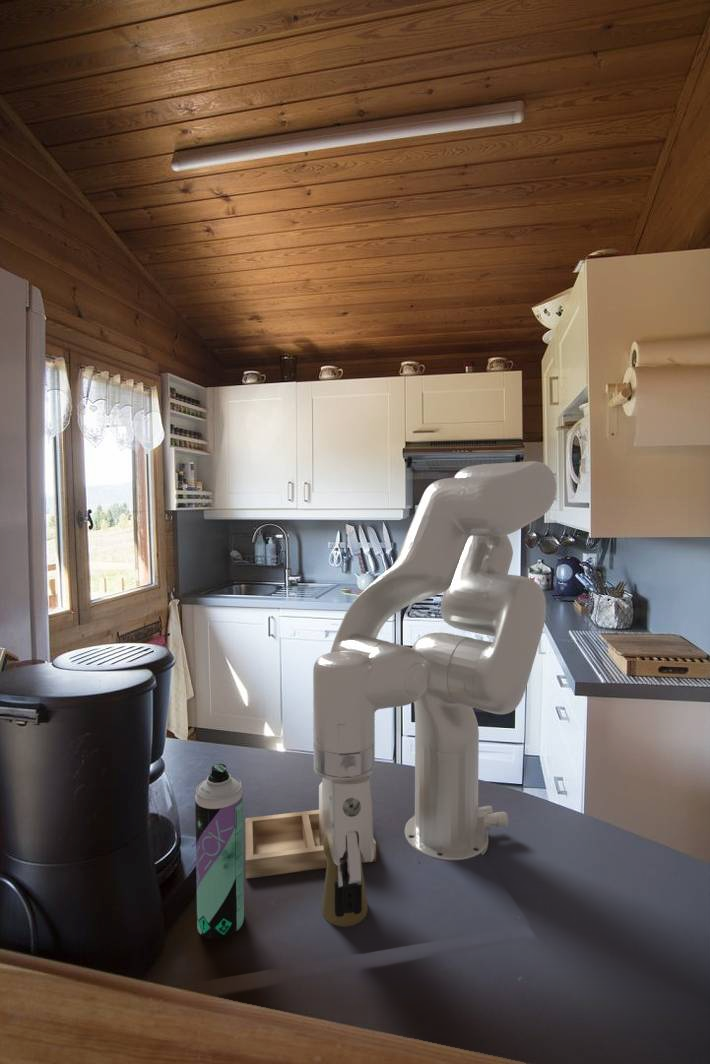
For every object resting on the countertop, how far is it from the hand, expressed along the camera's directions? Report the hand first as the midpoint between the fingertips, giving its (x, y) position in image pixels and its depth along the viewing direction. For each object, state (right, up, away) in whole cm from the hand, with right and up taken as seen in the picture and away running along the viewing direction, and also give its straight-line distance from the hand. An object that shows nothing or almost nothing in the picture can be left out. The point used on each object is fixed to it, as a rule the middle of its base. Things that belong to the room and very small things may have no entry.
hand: (344, 897), depth 67 cm
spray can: (-15, -3, -2) cm, 15 cm away
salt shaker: (-1, -1, +13) cm, 13 cm away
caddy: (-6, -2, +12) cm, 14 cm away
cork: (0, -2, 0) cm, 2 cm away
